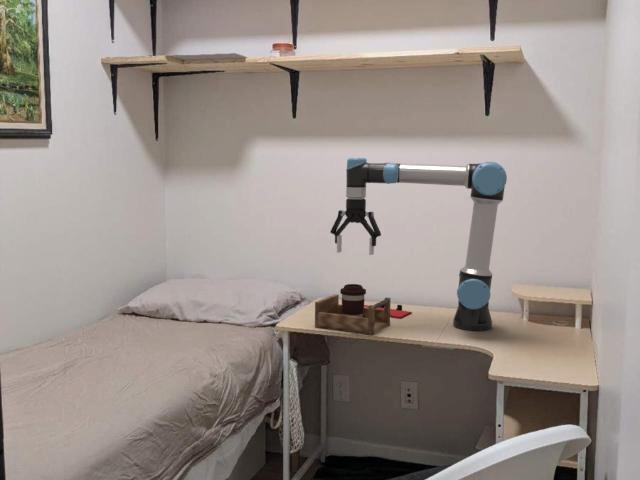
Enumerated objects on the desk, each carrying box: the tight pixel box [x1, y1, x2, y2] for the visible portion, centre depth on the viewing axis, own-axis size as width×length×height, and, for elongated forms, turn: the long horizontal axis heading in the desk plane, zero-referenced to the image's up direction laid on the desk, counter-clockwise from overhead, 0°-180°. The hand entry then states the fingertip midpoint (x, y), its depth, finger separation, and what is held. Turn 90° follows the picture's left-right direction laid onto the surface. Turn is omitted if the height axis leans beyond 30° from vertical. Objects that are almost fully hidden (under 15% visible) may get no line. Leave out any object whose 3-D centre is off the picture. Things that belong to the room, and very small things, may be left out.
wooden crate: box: [314, 293, 392, 336], centre depth 271 cm, size 24×18×11 cm
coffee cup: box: [339, 283, 367, 317], centre depth 271 cm, size 10×10×15 cm
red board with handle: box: [364, 304, 413, 320], centre depth 299 cm, size 30×3×15 cm
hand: (355, 253), depth 268 cm, fingers open, 13 cm apart
